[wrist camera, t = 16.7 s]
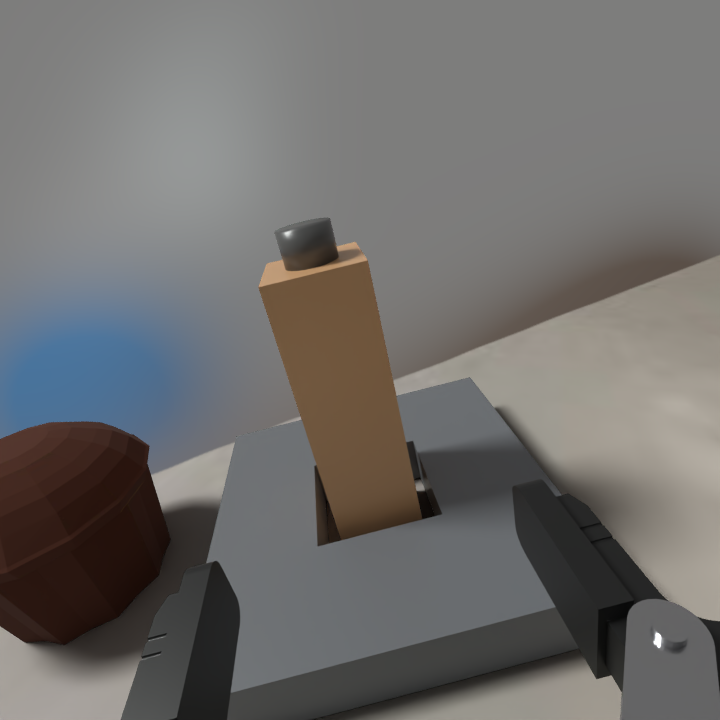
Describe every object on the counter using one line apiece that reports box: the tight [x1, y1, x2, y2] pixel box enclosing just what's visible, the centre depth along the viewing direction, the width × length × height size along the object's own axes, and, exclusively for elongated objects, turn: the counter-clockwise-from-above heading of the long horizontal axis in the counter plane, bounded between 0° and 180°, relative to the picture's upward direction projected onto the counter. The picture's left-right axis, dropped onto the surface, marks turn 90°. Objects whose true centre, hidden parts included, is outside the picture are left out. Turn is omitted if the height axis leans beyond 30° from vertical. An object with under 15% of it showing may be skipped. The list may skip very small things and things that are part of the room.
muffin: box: [0, 422, 171, 645], centre depth 25 cm, size 12×11×10 cm
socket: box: [206, 377, 579, 720], centre depth 25 cm, size 18×18×3 cm
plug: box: [259, 218, 422, 540], centre depth 22 cm, size 4×4×18 cm
